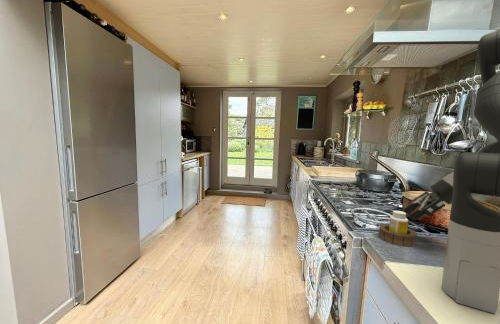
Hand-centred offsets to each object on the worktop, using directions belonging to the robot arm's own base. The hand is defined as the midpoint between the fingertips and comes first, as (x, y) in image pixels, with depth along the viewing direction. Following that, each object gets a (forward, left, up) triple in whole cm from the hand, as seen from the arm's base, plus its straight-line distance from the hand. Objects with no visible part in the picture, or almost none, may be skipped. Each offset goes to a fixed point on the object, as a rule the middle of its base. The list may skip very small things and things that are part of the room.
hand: (407, 215), depth 79 cm
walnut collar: (0, +3, -10) cm, 10 cm away
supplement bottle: (0, +2, -10) cm, 10 cm away
